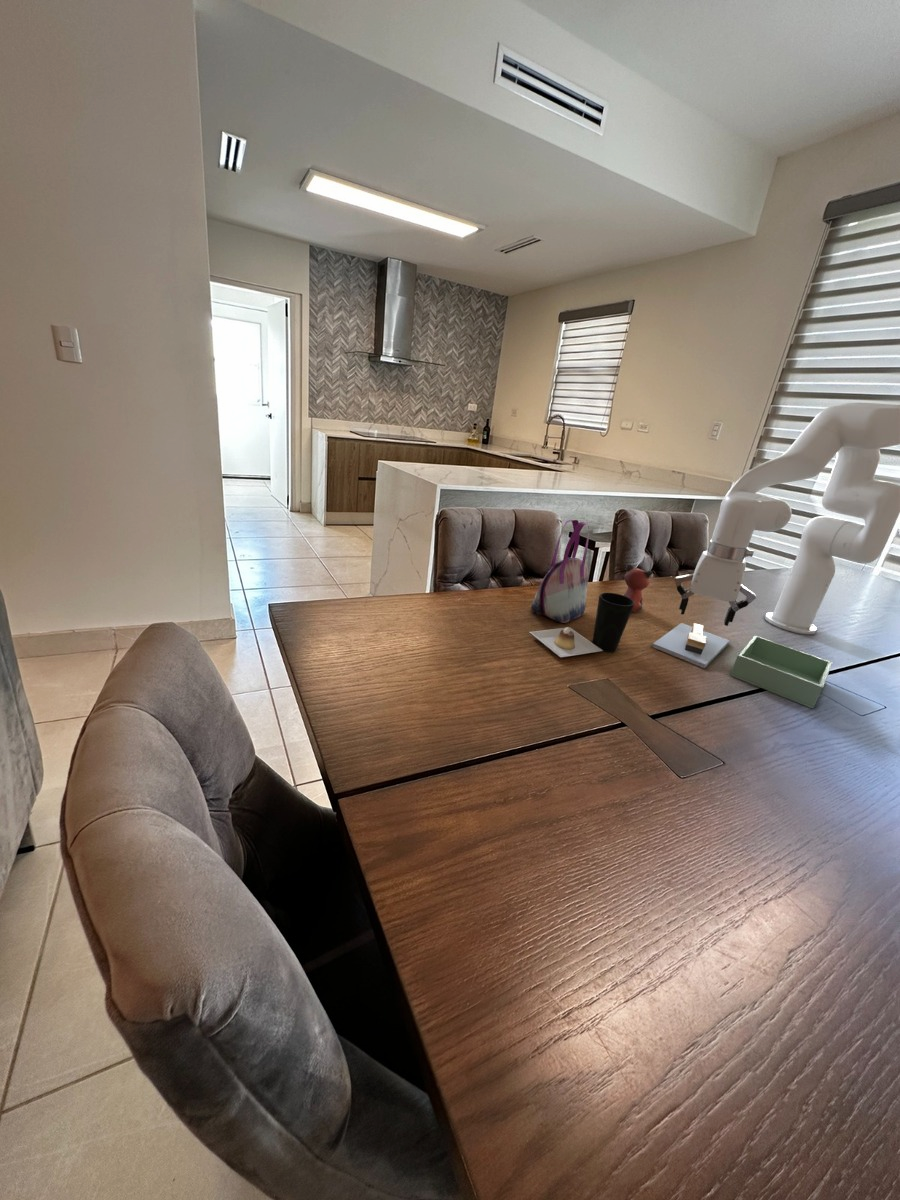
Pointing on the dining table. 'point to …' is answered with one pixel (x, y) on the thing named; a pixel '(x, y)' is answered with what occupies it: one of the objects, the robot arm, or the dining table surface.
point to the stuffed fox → (636, 585)
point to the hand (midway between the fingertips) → (703, 618)
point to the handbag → (564, 583)
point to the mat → (677, 641)
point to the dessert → (565, 642)
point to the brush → (696, 639)
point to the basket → (782, 670)
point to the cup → (611, 620)
